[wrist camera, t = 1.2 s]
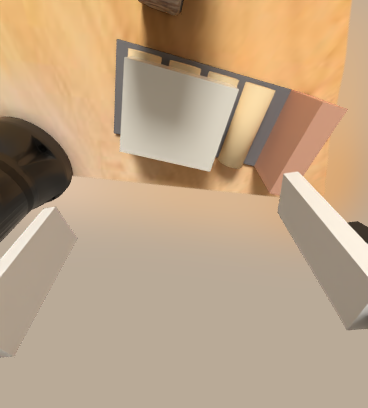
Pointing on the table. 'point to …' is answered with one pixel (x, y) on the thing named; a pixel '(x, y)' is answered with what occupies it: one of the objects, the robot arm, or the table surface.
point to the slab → (173, 113)
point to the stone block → (165, 5)
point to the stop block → (296, 138)
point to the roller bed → (241, 112)
